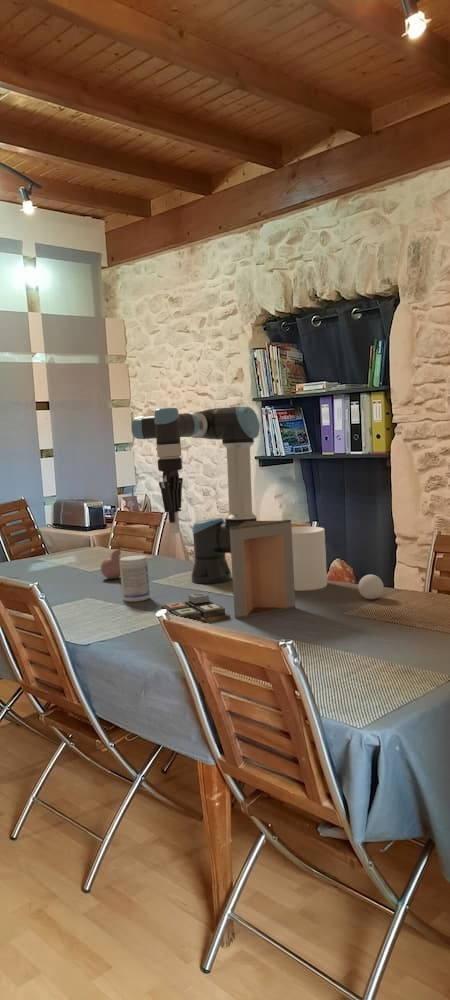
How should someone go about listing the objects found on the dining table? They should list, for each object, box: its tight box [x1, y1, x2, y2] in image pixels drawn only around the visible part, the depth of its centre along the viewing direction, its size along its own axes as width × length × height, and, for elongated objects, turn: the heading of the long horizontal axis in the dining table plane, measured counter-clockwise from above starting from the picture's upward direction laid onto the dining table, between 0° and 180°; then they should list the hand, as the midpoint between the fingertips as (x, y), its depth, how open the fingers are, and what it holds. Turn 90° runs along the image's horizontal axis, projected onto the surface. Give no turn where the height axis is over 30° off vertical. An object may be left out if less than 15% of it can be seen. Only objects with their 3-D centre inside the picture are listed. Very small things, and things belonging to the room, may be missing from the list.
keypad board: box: [161, 600, 231, 624], centre depth 236 cm, size 17×19×3 cm
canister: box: [291, 526, 328, 592], centre depth 269 cm, size 16×16×20 cm
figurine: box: [100, 548, 122, 580], centre depth 302 cm, size 9×11×12 cm
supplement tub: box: [120, 555, 151, 603], centre depth 263 cm, size 10×10×15 cm
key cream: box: [199, 603, 222, 611], centre depth 233 cm, size 5×5×2 cm
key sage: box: [175, 608, 196, 615], centre depth 230 cm, size 5×5×2 cm
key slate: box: [188, 592, 210, 604], centre depth 241 cm, size 5×5×2 cm
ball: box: [357, 573, 384, 600], centre depth 244 cm, size 8×8×8 cm
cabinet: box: [230, 519, 296, 620], centre depth 237 cm, size 21×10×28 cm, turn 117°
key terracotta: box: [164, 601, 186, 609], centre depth 238 cm, size 5×5×2 cm
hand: (174, 532), depth 239 cm, fingers closed
